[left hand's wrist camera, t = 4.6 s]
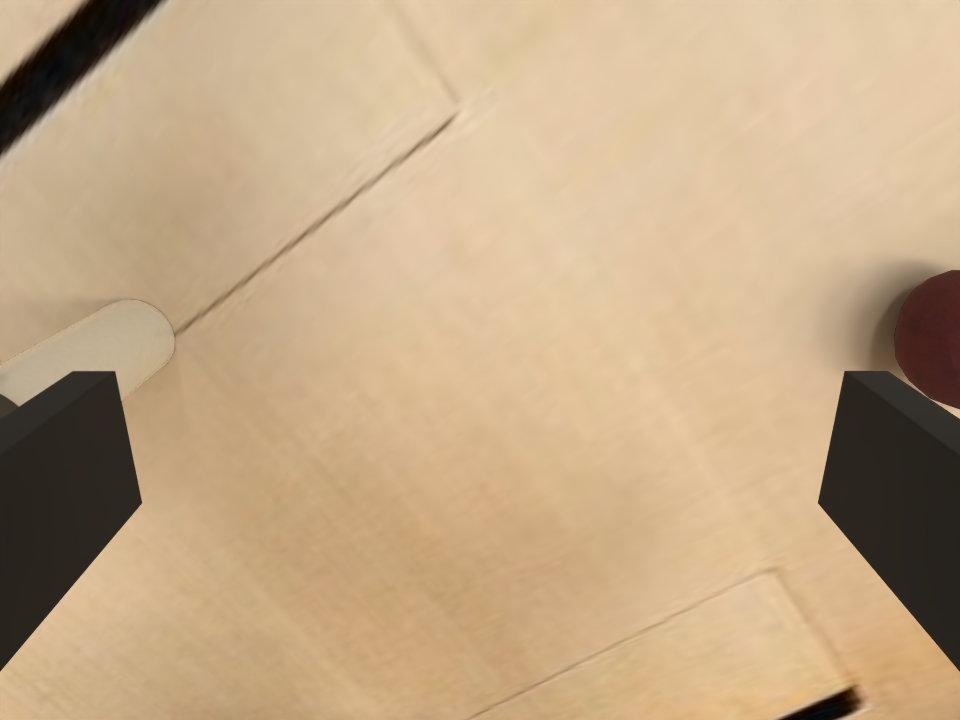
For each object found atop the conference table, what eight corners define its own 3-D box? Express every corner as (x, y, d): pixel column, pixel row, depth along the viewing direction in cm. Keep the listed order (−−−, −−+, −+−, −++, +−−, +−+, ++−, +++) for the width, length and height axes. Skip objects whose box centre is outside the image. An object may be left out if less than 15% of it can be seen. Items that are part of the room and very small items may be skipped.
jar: (191, 337, 41) (39, 460, 27) (144, 386, 43) (-24, 530, 28) (126, 282, 40) (-68, 382, 26) (81, 335, 41) (-129, 458, 27)
